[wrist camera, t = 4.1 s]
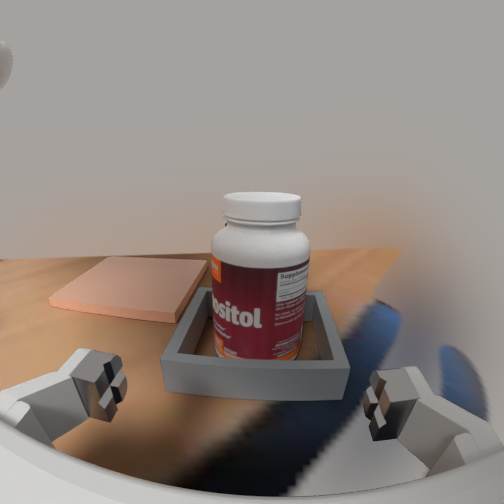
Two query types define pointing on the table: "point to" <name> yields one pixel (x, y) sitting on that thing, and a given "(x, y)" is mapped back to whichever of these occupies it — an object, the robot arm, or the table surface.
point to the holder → (256, 361)
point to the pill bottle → (259, 277)
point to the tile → (133, 288)
